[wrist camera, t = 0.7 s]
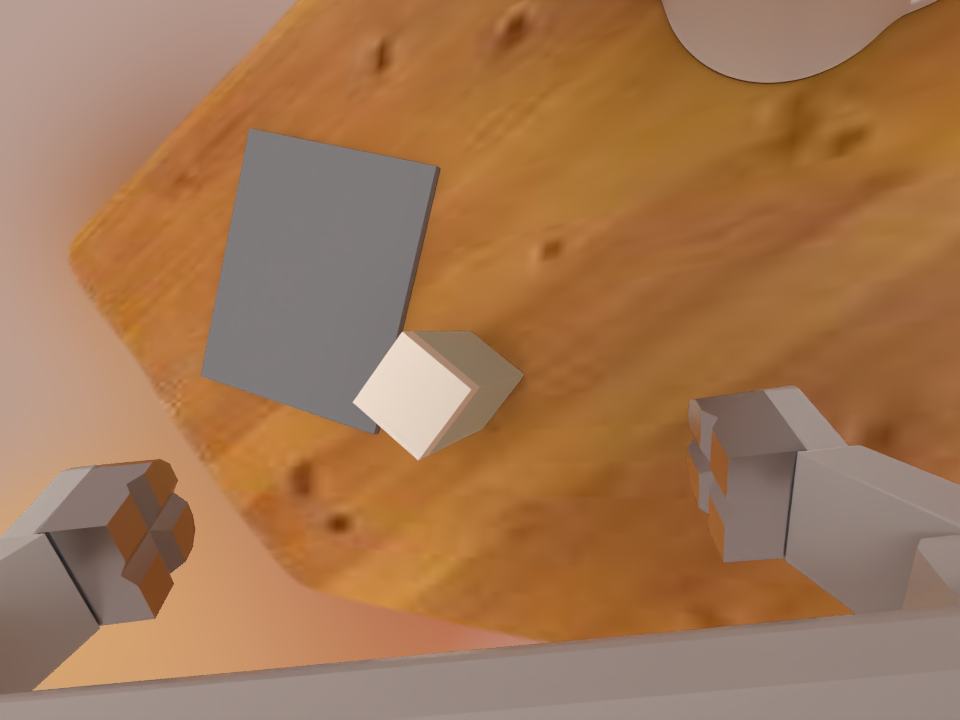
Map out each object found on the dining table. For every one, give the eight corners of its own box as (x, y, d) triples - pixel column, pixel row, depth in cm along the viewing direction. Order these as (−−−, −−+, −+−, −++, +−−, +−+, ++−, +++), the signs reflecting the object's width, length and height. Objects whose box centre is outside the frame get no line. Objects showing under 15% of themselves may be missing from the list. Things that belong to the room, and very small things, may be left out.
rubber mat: (255, 131, 52) (249, 128, 51) (440, 168, 47) (436, 166, 47) (207, 375, 54) (200, 376, 53) (378, 432, 50) (373, 434, 49)
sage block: (470, 331, 47) (402, 331, 36) (524, 374, 46) (471, 389, 35) (431, 385, 48) (352, 402, 37) (483, 428, 47) (418, 460, 36)
